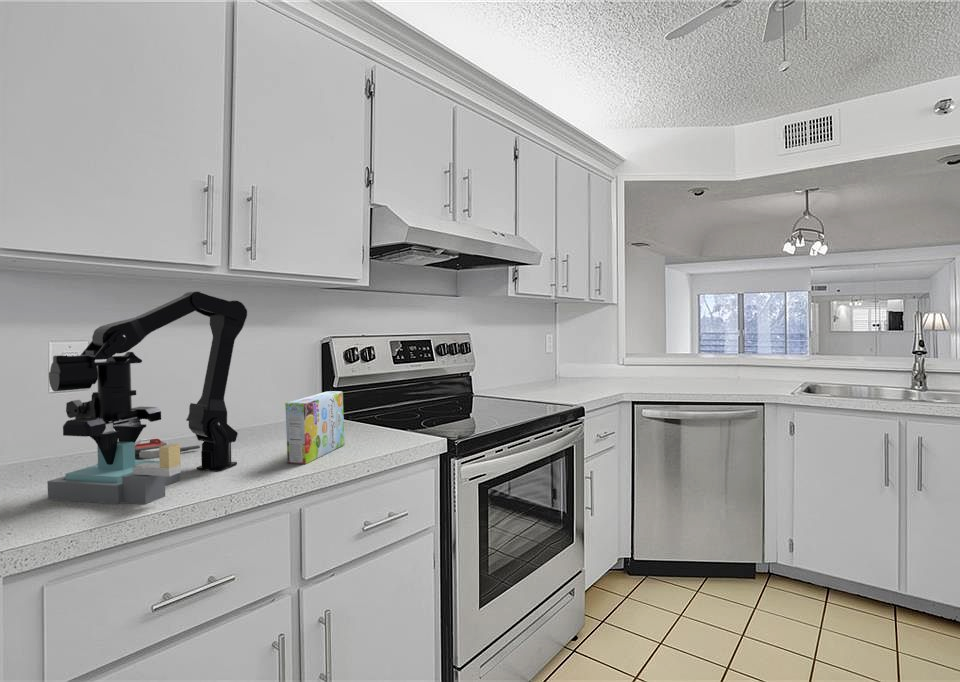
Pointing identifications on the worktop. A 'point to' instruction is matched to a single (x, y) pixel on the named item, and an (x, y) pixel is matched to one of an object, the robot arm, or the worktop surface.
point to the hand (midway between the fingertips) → (116, 462)
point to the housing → (112, 489)
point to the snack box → (314, 426)
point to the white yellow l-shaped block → (162, 463)
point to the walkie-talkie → (153, 448)
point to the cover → (110, 466)
